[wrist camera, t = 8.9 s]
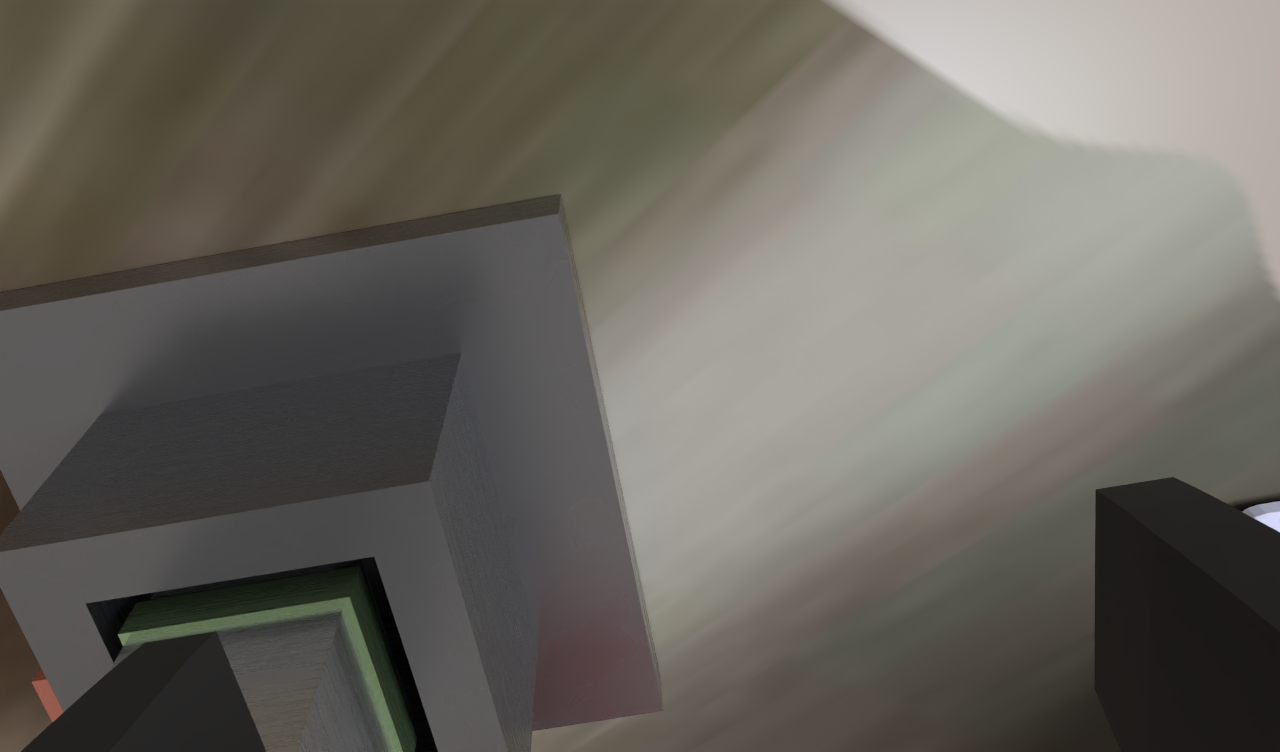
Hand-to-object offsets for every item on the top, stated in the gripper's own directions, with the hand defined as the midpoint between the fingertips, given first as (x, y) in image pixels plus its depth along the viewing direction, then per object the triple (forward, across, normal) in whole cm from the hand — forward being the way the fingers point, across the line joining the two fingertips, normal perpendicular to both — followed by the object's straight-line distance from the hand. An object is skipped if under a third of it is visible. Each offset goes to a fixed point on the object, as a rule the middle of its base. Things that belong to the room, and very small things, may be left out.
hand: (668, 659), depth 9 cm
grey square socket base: (+10, +6, +4) cm, 13 cm away
